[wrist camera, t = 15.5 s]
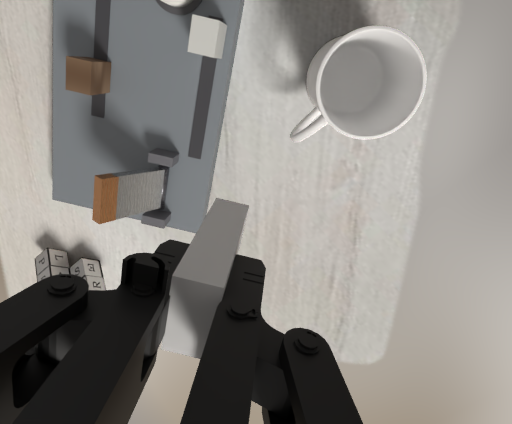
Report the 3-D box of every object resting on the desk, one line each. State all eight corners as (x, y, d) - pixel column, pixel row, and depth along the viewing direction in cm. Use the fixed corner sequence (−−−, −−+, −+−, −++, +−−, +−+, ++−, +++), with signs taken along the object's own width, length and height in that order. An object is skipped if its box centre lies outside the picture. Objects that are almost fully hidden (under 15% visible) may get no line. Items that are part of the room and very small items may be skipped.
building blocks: (72, 264, 52) (81, 316, 48) (34, 258, 48) (41, 315, 44) (96, 244, 51) (107, 295, 47) (59, 236, 46) (68, 292, 42)
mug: (309, 154, 42) (315, 185, 30) (265, 89, 39) (255, 98, 28) (405, 90, 38) (451, 99, 27) (362, 15, 36) (394, -8, 25)
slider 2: (202, 19, 35) (192, 14, 31) (227, 25, 35) (219, 20, 31) (198, 53, 36) (187, 51, 32) (221, 58, 36) (213, 57, 32)
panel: (68, -75, 35) (36, -96, 31) (250, -33, 35) (244, -47, 31) (64, 192, 46) (39, 206, 41) (204, 225, 46) (194, 243, 41)
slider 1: (88, 57, 37) (66, 55, 34) (111, 62, 37) (91, 61, 33) (87, 87, 38) (65, 89, 35) (109, 92, 38) (90, 95, 35)
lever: (164, 163, 41) (94, 173, 34) (172, 167, 40) (102, 177, 33) (159, 204, 43) (92, 221, 36) (166, 208, 42) (99, 226, 35)
